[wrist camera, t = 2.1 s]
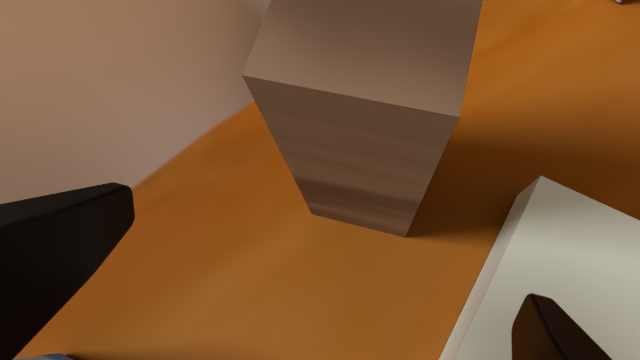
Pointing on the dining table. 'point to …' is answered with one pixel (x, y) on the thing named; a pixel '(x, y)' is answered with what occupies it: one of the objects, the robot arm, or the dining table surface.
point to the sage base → (556, 274)
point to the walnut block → (363, 99)
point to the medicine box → (45, 357)
